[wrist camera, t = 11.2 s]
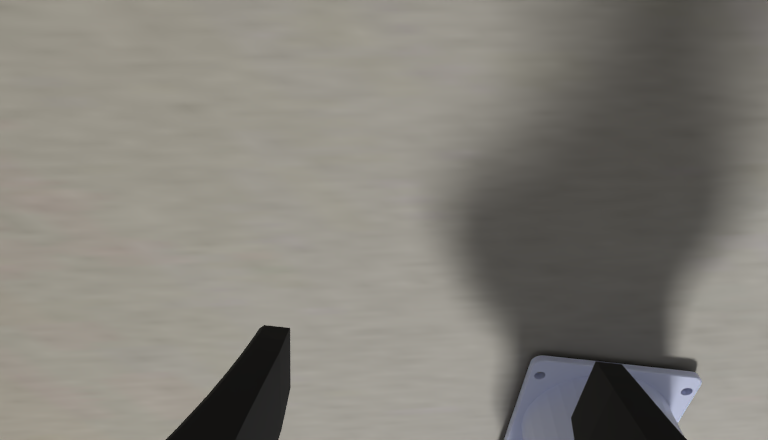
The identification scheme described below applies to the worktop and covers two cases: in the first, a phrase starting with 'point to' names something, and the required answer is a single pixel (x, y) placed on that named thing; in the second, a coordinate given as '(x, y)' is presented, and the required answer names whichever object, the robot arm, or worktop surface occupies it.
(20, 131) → the worktop surface
